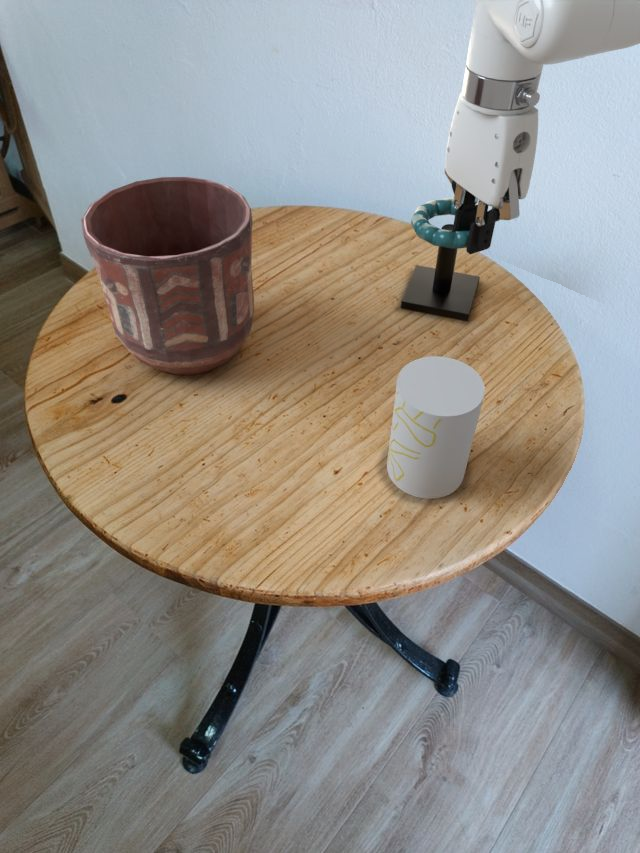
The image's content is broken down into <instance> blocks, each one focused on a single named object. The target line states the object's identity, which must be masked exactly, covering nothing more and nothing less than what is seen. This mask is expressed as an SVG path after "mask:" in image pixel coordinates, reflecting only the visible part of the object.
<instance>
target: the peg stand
mask: <svg viewBox="0 0 640 853" xmlns="http://www.w3.org/2000/svg"><path fill="white" fill-rule="evenodd" d="M453 225H454V223H447V224H444V225H442V226H441V228H440V229H443V230H449V231H453ZM457 254H458V249H451V248H445V247H440V246H438V249H437V255H436V262H435V267H431V266H430V267H429V266H424V265H419V264H416V265H415V266H414V269H413V271H412V274H411V277H410V279H409V282H408V284H407V286H406V288H405V291H404V294H403V297H402V299H401V301H400V309H401V310H402V309H403V310H406V311H410V312H411V311H413V312H416V313H417V312H418V313H422V314H427V315H432V316H437V317H442V318H446V319H447V318H448V319H453V320H458V321H462V322H463V321H464V322H469V319H470V315H471V312H472V308H473V305H474V301H475V298H476V294H477V290H478V286H479V284H480V278H481V276H478V275H474V274H469V273H462V272H457V271H455V265H456V260H457Z"/></svg>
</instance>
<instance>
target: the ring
mask: <svg viewBox="0 0 640 853" xmlns="http://www.w3.org/2000/svg"><path fill="white" fill-rule="evenodd" d="M453 201H454V197H453V198H452V197H449V198H439V199H437V198H436V199H432V200H430V201H427V202H426V203H423V204H421V205H419V206H418V207H417V208H416V209H415V211H414V213H413V215H412V217H411V219H410V224H411V227H412V229H413V231H414V233H415V234H416V236H417V237H418V238H419V239H421V240H423V241H424V242H427V243H429V244H430V245H433V246H435V247H439V246H440V247H445V248H451V249H457V250H459V249H466V248H467V242H468V237H469V232H470V230H466V231H457V232H455V231H449V230H443V229H441V228H439V227H438V226H435V225H433V224H431V223H430V220H431V219H433V218H435V217H439V216H449V215H450V216H455V213H456V211H457V209H455V208H454V205H453ZM475 205H478V203H477V204H475Z"/></svg>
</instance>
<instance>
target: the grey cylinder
mask: <svg viewBox="0 0 640 853" xmlns="http://www.w3.org/2000/svg"><path fill="white" fill-rule="evenodd" d="M395 385H396V386H395V394H394V402H393V411H392V420H391V428H390V436H389V443H388V451H387V460H386V470H387V474H388V477H389V479H390V481H391V482H392V483H393V484H394V486H396V487H397V489H399V490H401V491H402V492H404V493H405V494H408V495H409V496H412V497H415V498H419V499H426V500H431V499H433V500H434V499H441V498H444V497H447V496H449V495H451V494H453V493H454V492H455V491H457V490H458V489H459V487H460V486H461V484H462V483H463V481H464V479H465V478H464V477H465V475H466V470H467V467H468V466H467V465H468V461H469V458H470V454H471V449H472V446H473V442H474V439H475V438H474V437H475V434H476V430H477V426H478V423H479V422H478V421H479V419H480V414H481V410H482V406H483V402H484V398H485V394H486V387H485V383H484V381H483V378H482V376H481V375H480V374H479V373H478V372H477V371H476V370H475V369H474V368H473V367H472V366H470V365H468V364H467V363H465V362H463V361H461V360H458V359H456V358H451V357H447V356H439V355H437V356H436V355H434V356H433V355H431V356H424V357H420V358H416V359H414V360H412V361H410V362H408V363H407V364H406V365H404V366H403V367H402V368H401V369H400V371H399V372H398V375H397V378H396V384H395Z"/></svg>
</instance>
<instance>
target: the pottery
mask: <svg viewBox="0 0 640 853" xmlns="http://www.w3.org/2000/svg"><path fill="white" fill-rule="evenodd" d="M80 221H81V228H82V229H81V230H82V235H83V239H84V242H85V245H86V248H87V250H88V252H89V255H90V258H91V260H92V263H93V265H94V268H95V270H96V272H97V276H98V278H99V282H100V284H101V285H100V286H101V288H102V291H103V294H104V298H105V302H106V305H107V308H108V313H109V317H110V322H111V324H112V327H113V330H114V333H115V335H116V337H117V338H118V340H119V341H120V343H121V344H122V345H123V346H124V347H125V348H126V349H127V351H128V352H129V353H130V354H131V355H132V356H133V357H134V358H135V359H137V361H139V362H140V363H142V364H144V365H147V366H148V367H151V368H153V369H155V370H157V371H160V372H163V373H167V374H173V375H178V376H187V375H189V376H190V375H198V374H201V373H202V374H203V373H206V372H209V371H213V370H214V369H217V368H220V366H223V365H224V364H225V363H227V362H228V361H230V360H231V359H232V358H233V357H234V356H235V355H237V353H239V351H241V349H242V347H243V345H244V344H245V342H246V340H247V339H248V336H250V333H251V331H252V326H253V320H254V313H255V295H254V283H253V272H252V271H253V270H252V269H253V268H252V254H253V253H252V252H253V250H252V248H253V247H252V246H253V245H252V244H253V243H252V241H253V213H252V209H251V207H250V204H249V203H248V201H247V199H246V197H245V196H244V195H242V194H241V193H240V192H238V191H237V190H235V189H234V188H232V187H230V186H228V185H225V184H222V183H220V182H217V181H213V180H210V179H205V178H198V177H190V176H162V177H161V176H160V177H155V178H150V179H144V180H136V181H134V182H131V183H127V184H125V185H122V186H120V187H117V188H114V189H112V190H109V191H107V192H106V193H105V194H103V195H102V196H100V197H99V198H98V199H96V200H95V201H93V202H92V203H90V205H89V206H88V207H87V209H86V211H85V212H84V214H83V216H82V217H81V219H80Z"/></svg>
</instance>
